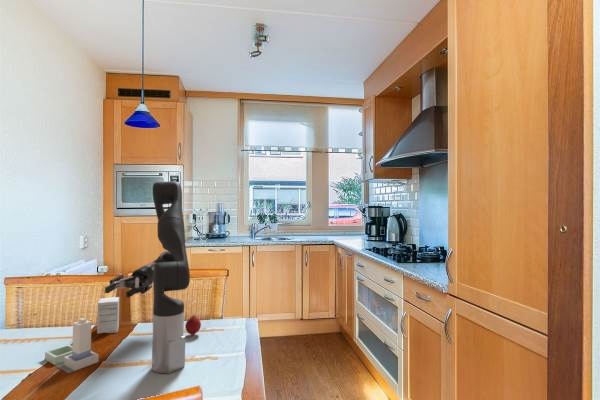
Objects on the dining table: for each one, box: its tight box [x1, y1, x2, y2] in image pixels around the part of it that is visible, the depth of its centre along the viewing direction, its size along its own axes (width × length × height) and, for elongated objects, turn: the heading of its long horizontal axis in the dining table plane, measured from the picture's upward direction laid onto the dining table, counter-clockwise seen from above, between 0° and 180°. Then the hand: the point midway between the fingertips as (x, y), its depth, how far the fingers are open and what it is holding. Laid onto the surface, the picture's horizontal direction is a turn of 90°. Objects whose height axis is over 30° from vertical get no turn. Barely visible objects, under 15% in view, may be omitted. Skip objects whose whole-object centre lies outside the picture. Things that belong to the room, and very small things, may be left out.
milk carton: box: [71, 317, 92, 361], centre depth 106 cm, size 4×4×14 cm
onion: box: [184, 314, 202, 336], centre depth 132 cm, size 6×6×8 cm
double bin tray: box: [44, 344, 100, 374], centre depth 107 cm, size 17×9×3 cm, turn 58°
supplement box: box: [96, 296, 120, 334], centre depth 135 cm, size 7×7×13 cm
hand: (116, 293), depth 115 cm, fingers open, 8 cm apart
